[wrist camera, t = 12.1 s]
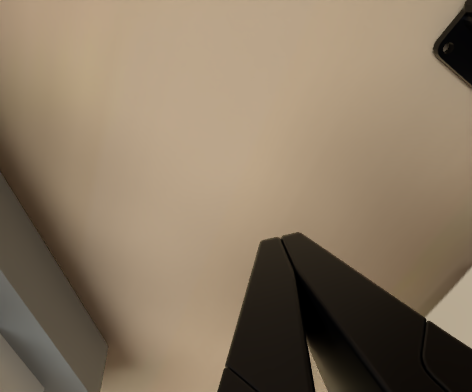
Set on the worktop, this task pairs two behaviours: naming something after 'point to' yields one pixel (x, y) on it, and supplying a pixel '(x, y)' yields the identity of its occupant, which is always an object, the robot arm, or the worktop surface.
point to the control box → (41, 314)
